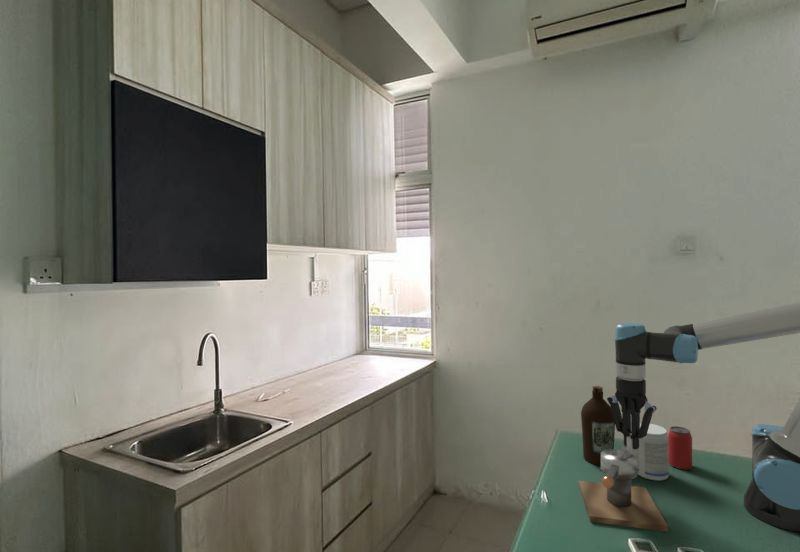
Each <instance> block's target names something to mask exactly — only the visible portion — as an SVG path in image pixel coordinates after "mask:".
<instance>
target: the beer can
mask: <svg viewBox="0 0 800 552" xmlns="http://www.w3.org/2000/svg"><path fill="white" fill-rule="evenodd" d="M667 435H668V459H669V465H670V466H672V467H673V468H677V469H680V470H691V469H692V468H693V437H692V434H691V430H690V429H689V428H685V427H682V426H677V425H676V426H675V425H674V426H670V427H669V431H668V432H667Z"/></svg>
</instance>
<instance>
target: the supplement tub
mask: <svg viewBox="0 0 800 552" xmlns="http://www.w3.org/2000/svg"><path fill="white" fill-rule="evenodd" d="M641 423H642V422H640V426H641ZM636 458H637V470H638V475H637V476H640V477H642V478H644V479H646V480H651V481H664V480H667V479H668V478H669V476H670V472H669V471H670V470H669V465H670V464H669V459H668V430H667V429H666V427H665V428H664V427H663V426H661V425H658V424H653V423H650V425H649V428H648V432H647V435H646V436H645V437H643V438H639V448H638V449H637V450H636Z"/></svg>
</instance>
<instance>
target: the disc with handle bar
mask: <svg viewBox="0 0 800 552" xmlns="http://www.w3.org/2000/svg"><path fill="white" fill-rule="evenodd" d="M600 470H601V471H602V472H603V473H604V476H603V477H602V478H601V483H602V484H603V486H604V487H606V488H612V487H613V486H614V482H615V480H616V478H619V479H631V480H633V479H636V478H637V477H638V476H639V475H638V470H637V458H636V457H635V456H634V455H632V454H630V453H628V452H627V447H626V446H624V442H623V443H622V445H621V447H620V449H615V448H614V449H608V450H604V451H602V452H601V465H600Z"/></svg>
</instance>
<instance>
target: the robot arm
mask: <svg viewBox="0 0 800 552" xmlns="http://www.w3.org/2000/svg"><path fill="white" fill-rule="evenodd" d="M795 334H800V301H797V302H793V303H791V302H790V303H788V304H787V303H786V304H782V305H777V306H772V307H768V308H767V307H766V308H763V309H757V310H753V311H748V312H743V313H739V314H738V313H737V314H733V315H728V316H723V317H718V318H714V319H709V320H704V321H698V322H693V323H690V324H689V323H687V324H684V325H677V324H676V325H673V326H669V327H668V328H666V329H665V330H664V331H663V332H652V331H650V332H649V331H647V330H646V326H645V325H644V324H642V323H634V322H624V323H619V324H617V325H616V327H615V338H614V342H615V345H614V346H615V348H614V349H615V376H616V377H615V389H616V391H615V393H614V395H611V396H609V397H607V398H606V401H607V403H608V404H609V405H610V406H611V409H612V413H613V417H614V421H615V430H616V431H617V432H618V433H619V432H620V433H621V434H622V435H623V443H624V446H626V447H627V452H628V453H630V454H632V455H634V456H635V457H636V450H637V449H638V448H639V438H643V437H645V436H646V435H647V432H648V428H649V425H650V424H651V420H652V417H653V414H654V413H655V412H656V410H657V409H658V408H657V406H655V405H652V404H651V403H650V402H648V398H647V396H646V395H647V394H646V393H647V392H646V391H647V383H646V382H647V381H646V379H645V378H646V377H647V372H646V369H647V368H646V364H647V363H646V360H655V361H663V362H670V363H671V362H672V363H678V364H695V363H697V361H698V356H699V350H700V351H701V350H704V349H710V348H716V347H722V346H723V347H724V346H728V345H735V344H741V343H747V342H753V341H760V340H765V339H771V338H776V337H784V336H789V335H795ZM620 406H621V407H620ZM643 408H644V413H643V417H642V419H641V415H640V414H641V412H642V411H641V410H642V409H643ZM640 423H641V426H640ZM751 437H752V440H751V442H752V445H751V446H752V447H751V458H752V459H751V470H752V471H751V480H750V482H749V484H748V486H747V489H746V490H745V493H744V496H743V506H744V508H745V509H746V511H747V512H748V513H749V514H751V515H753V516H754V517H755V518H757V519H759V520H760V521H762V522H764V523H766V524H769V525H771V526H774V527H777V528H779V529H783V530H788V531H792V532H796V531H799V532H798V533H800V397H799V399H798V400H797V402H796V404H795V406H794V407H793V409H792V411H791V413H790V415H789V417H788V419H787V420H786V422H785V423H784V425H783V426H782V425H781V426H780V425H774V424H764V423H763V424H756V425H754V426H753V427H752V432H751Z"/></svg>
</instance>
